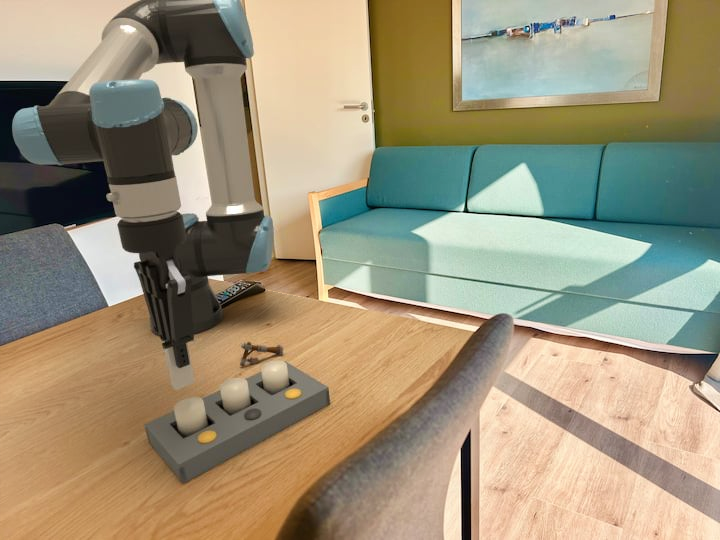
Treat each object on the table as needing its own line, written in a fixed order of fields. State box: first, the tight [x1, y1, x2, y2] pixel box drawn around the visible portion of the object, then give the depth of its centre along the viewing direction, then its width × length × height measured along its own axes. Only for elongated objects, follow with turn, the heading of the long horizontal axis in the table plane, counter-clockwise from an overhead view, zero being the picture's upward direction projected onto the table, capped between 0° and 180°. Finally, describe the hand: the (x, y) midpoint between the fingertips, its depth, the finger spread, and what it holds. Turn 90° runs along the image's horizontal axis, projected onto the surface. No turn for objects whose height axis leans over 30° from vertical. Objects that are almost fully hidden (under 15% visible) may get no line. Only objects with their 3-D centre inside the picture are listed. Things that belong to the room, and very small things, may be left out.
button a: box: [173, 396, 209, 438], centre depth 73 cm, size 4×4×4 cm
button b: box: [219, 377, 252, 416], centre depth 77 cm, size 4×4×4 cm
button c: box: [260, 359, 291, 396], centre depth 81 cm, size 4×4×4 cm
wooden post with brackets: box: [239, 341, 284, 367], centre depth 95 cm, size 2×8×4 cm, turn 124°
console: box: [144, 360, 331, 485], centre depth 77 cm, size 12×24×3 cm, turn 131°
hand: (183, 384), depth 70 cm, fingers closed
